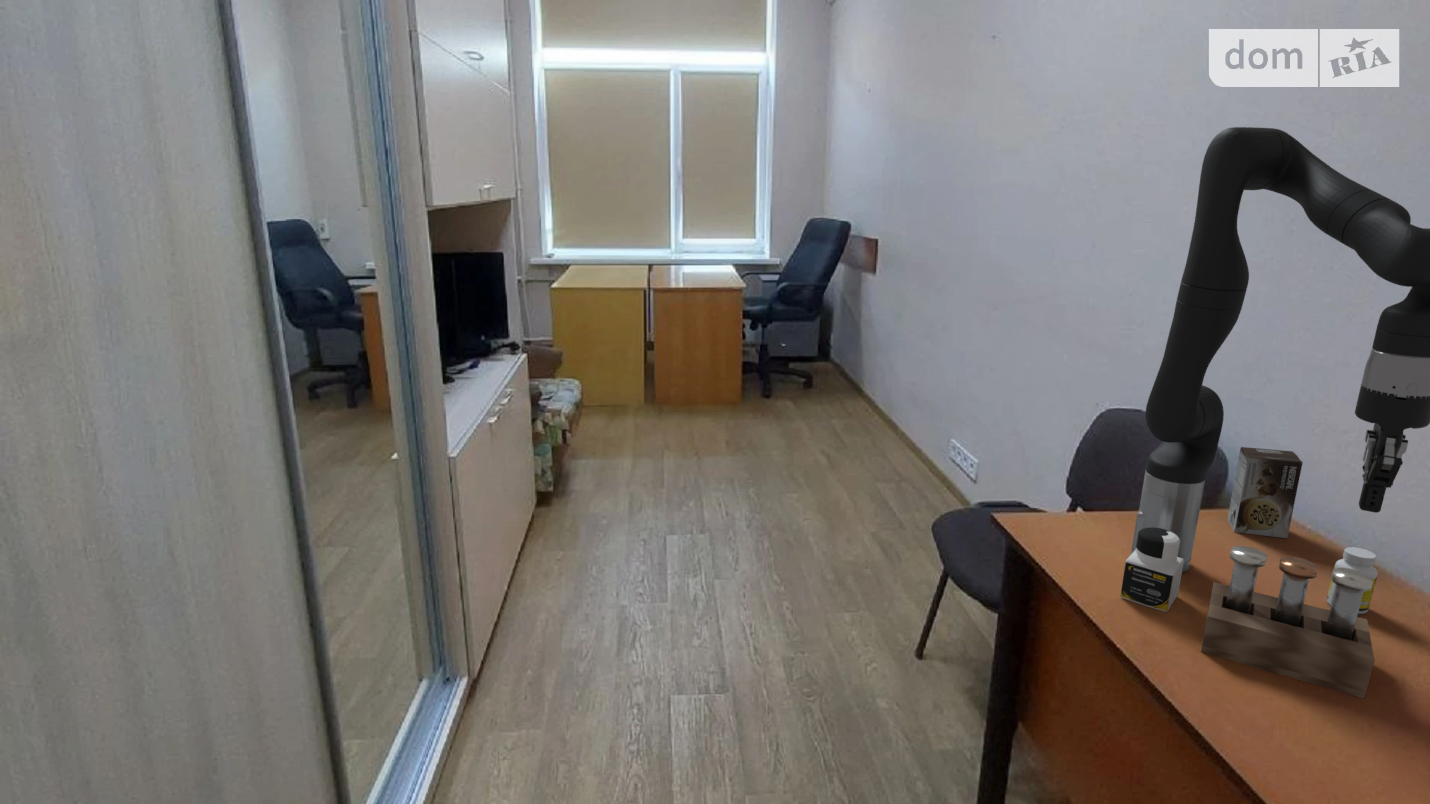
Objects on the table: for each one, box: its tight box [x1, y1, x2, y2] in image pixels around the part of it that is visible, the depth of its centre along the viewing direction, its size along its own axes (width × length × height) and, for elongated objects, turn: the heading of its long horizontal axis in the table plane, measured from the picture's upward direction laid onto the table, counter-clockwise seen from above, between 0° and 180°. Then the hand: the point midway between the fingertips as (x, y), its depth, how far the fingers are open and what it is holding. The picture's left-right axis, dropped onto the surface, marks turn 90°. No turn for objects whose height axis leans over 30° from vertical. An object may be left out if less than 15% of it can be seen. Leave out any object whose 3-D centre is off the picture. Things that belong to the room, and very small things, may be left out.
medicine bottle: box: [1119, 527, 1184, 613], centre depth 128 cm, size 7×7×12 cm
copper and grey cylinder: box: [1273, 556, 1319, 627], centre depth 112 cm, size 4×4×10 cm
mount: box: [1200, 581, 1375, 699], centre depth 114 cm, size 19×12×6 cm, turn 55°
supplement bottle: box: [1326, 546, 1379, 615], centre depth 125 cm, size 5×5×10 cm
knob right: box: [1324, 568, 1373, 640], centre depth 108 cm, size 4×4×10 cm
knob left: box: [1225, 545, 1268, 614], centre depth 115 cm, size 4×4×10 cm
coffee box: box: [1226, 446, 1304, 539], centre depth 152 cm, size 9×6×16 cm
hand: (1368, 509), depth 104 cm, fingers closed
